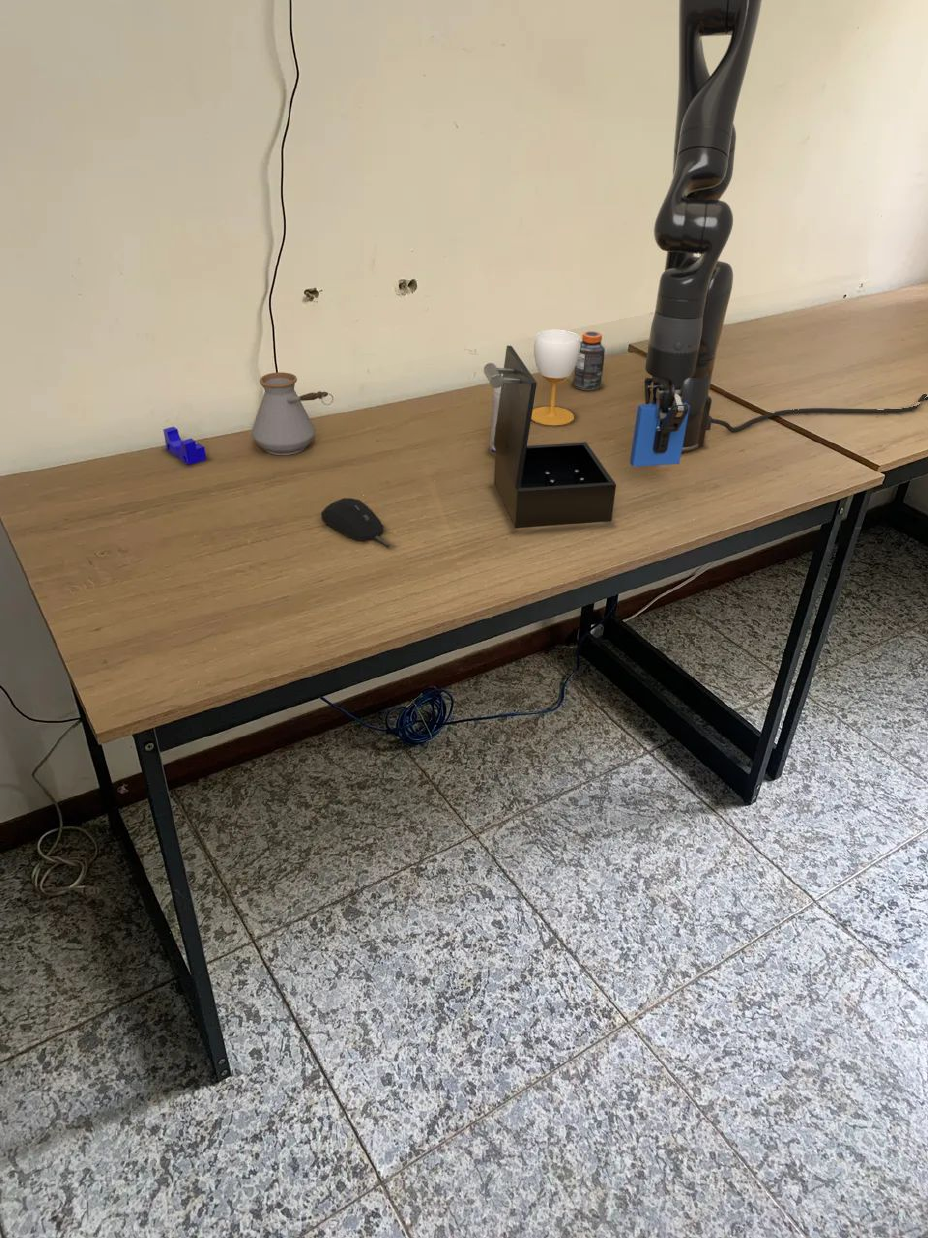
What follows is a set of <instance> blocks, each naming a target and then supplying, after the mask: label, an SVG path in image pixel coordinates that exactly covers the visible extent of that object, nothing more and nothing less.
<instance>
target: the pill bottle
mask: <svg viewBox="0 0 928 1238" xmlns="http://www.w3.org/2000/svg"><path fill="white" fill-rule="evenodd" d="M602 341H603V333H601V332H600V331H595V330H589V331H588V330H587V331H584V332H583V333H582V337H581V341H580V344H581V347H580V353H579V358H578V361H577V364H576V367H575V369H574V374H573V376H574V377H573V386H574V387H576V388H577V389H580V390H583V391H595V390H598V389H600V388H601V387H602V382H603V373H604V364H605V363H604V362H605V355H606V354H605V353H606V347H605V344H604V343H602Z"/></svg>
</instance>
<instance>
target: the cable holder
mask: <svg viewBox="0 0 928 1238" xmlns="http://www.w3.org/2000/svg"><path fill="white" fill-rule="evenodd" d="M162 430H163V435H164V441H165V447H166V451H168V452H169V453H170V454H172V455H173V456H175V457H177V459H179V460H180V461H181V462H183V463H185V465H187V466H191V465H195V464H197V463H200V462H204V461H206V460H207V456H206V455H207V454H206V449H205V446H204V445H202V444H201V443H200V442H199V443H198V442H197V443H196V440H195V439H193V438H188V439H184V440H182V439H181V436H180V434H179V430H178V428H177V427H175V426H171V427H167V428H164V429H162Z"/></svg>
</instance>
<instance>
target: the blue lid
mask: <svg viewBox="0 0 928 1238" xmlns="http://www.w3.org/2000/svg"><path fill="white" fill-rule="evenodd" d="M682 404H683V405H688V404H687V403H686V402H684V403H682ZM688 407H690V406H689V405H688ZM655 409H656V404H646V403H644V404H638V405H637V410H636V417H635V423H634V432H633V439H632V445H631V451H630V459H629V463H630V465H631V466H632V468H633V467H634V468H637V467H652V466H653V467H654V466H668V465H669V466H670V465H680V462H681V457H682V453H683V452H682V446H683V441H684V435H685V430H686V424H687V418H688V413H689V411H688V413H687V415H686V417H685V418H684V420H683V422H682V424H681V426H680V427H679V429H678V431H677V432H670V436H669V442H668V447H667V451H666V452H664V453H655V452H654V451H653V444H654V438H655V432H656V423H657V416H656V415H655ZM661 411H666V410H661ZM664 419H665V418H663V421H664ZM662 423H663V422H662Z"/></svg>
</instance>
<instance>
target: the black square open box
mask: <svg viewBox="0 0 928 1238" xmlns="http://www.w3.org/2000/svg"><path fill="white" fill-rule="evenodd" d="M493 470H494V471H493V472H494V473H493V477H494V478H493V485H494V487H495V489H496V490H497V492H498V495H499V498H500V499H501V501H502V503H503V506H504V508H505V510H506V512H507V514H508V517H509V518H510V521H511V523H512V525H513V527H514V529H526V528H541V527H553V526H555V527H556V526H565V525H566V526H567V525H581V524H594V523H606V522H612V518H613V511H614V502H615V495H616V488H617V484H616V481H614V480H613V478H612V477H611V475H610V474H609V472H608V471H607V469H606V468H605V466H604V465H603V464H602V462H601V460H600V459H599V458H598V456H597V455H596V454H595V452H594V451H593V449H592V448H591V446H590V445H589V443H588V442H587V441H582V442H581V441H580V442H564V443H550V444H549V443H548V444H533V445H532V444H531V445H527V448H526V455H525V461H524V467H523V473H522V480H521V486H520V488H515V487H514V485H513V483H512V481H511V479H510V477H509V475H508V473H507V471H506V469H505V467H504V465H503V463H502V461H501V459H500V457H499V455H498V453H497V451H496V449H495V453H494V469H493ZM575 470H579V476H578V484H577V485H573V483H574V473H575ZM545 472H549V473H550V475H549V486H547V487H544V483H545ZM580 478H584V484H579V482H580ZM550 480H554V486H550Z"/></svg>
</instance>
